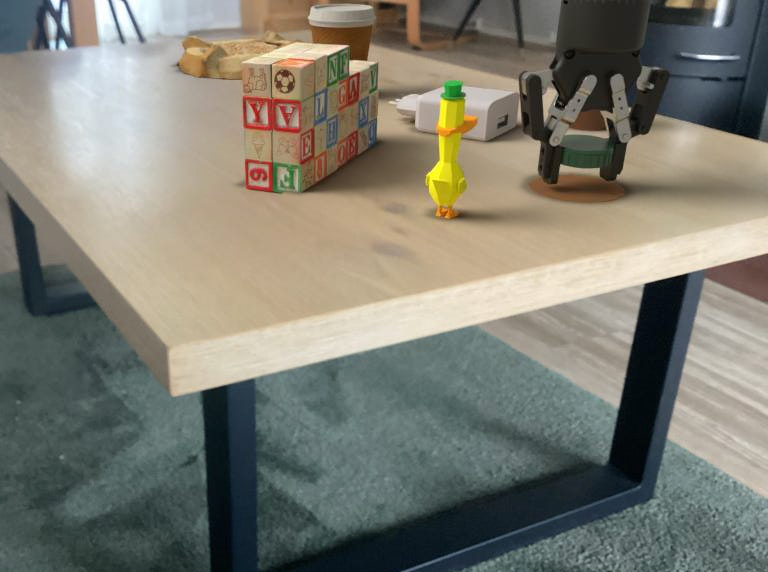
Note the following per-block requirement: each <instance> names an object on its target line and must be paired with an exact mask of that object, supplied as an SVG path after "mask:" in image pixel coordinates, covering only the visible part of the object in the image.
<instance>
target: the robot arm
mask: <svg viewBox="0 0 768 572" xmlns="http://www.w3.org/2000/svg"><path fill="white" fill-rule="evenodd" d="M560 1H561V2H560V8H559V16H558V23H557V31H556V37H555V54H554V57H553V60H552V61H551V63H550V64H549V66H548V68H545V69H541V70H536V71H532V72H531V71H529V70H523V71H521V72H520V73H519V75H518V93H519V95H520V98H519V107H520V118H521V130H522V133H523V134H524V135H526V136H529V137H530V138H531V139H533V140H534V141H539V142H540V143H539V144H540V146H539V147H540V148H539V154H538V164H537V173H538V176H540V177H542V180H543V181H544V182H546V183H547V184H549V185H550V184H557V182H558V177H559V175H560V171H561V170H560V168H561V164H560V163H561V156H562V149H563V147H562V146H560V145H559V144H560V143H561V141H562V139H563V137H564V136H565V135H567V132H568V130H569V129H570V128H569V126H570V125H571V124H573V123H574V122H575V120H576V118H577V116H578V114H579V113H580V112H586V111H589V110H593V109H596V110H600V112H601V114H602V115H603V117H604V120H605V124H606V129H605V130H606V133H607V136H608V137H604V138H605V139H607V140H609V141H611V142H612V143H614V155H613V160H612V163H611V164H610V165H608V166H606V167H602V168H599V178H600V179H604V180H606V181H610V182H614V181H616V180H617V178H618V175H621V173H622V172H623V170H624V163H625V158H626V153H627V148H628V146H627V145H628V143H629V141H630V140H632V139H633V138H635V137H637V136H640V135H641V136H646V135H647V134H648V133H649V132H650V131H651V129H652V125H653V123H654V120H655V118H656V115H657V113H658V109H659V107H660V104H661V102H662V100H663V96H664V93H665V91H666V89H667V85H668V83H669V80H670V77H671V73H670V71H669V70H667V69H664V68H662V67H658V66H654V65H648V66H644V65H643V64H642V61H641V55H640V54H641V50H642V48H643V46H644V44H645V39H646V31H647V27H648V22H649V17H650V10H651V5H652V0H560ZM550 83H551V84H552V85H553V87H554V90H555V91H556V94H555V96H554V98H553V99H552V102H551V103H550V106H549V108H548V110H547V116H546V119H545V116H544V98H543V96H544V95H545V94H546V93H547V92H548V86H549V84H550ZM634 83H636V88H637V91H636V94H635V96H634V99H633V102H632V105H631V108H630V109H629V104H628V99H627V95H626V94H627V92H628V91H629V90H630V89H631V88H632V86H633V85H634Z"/></svg>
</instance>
